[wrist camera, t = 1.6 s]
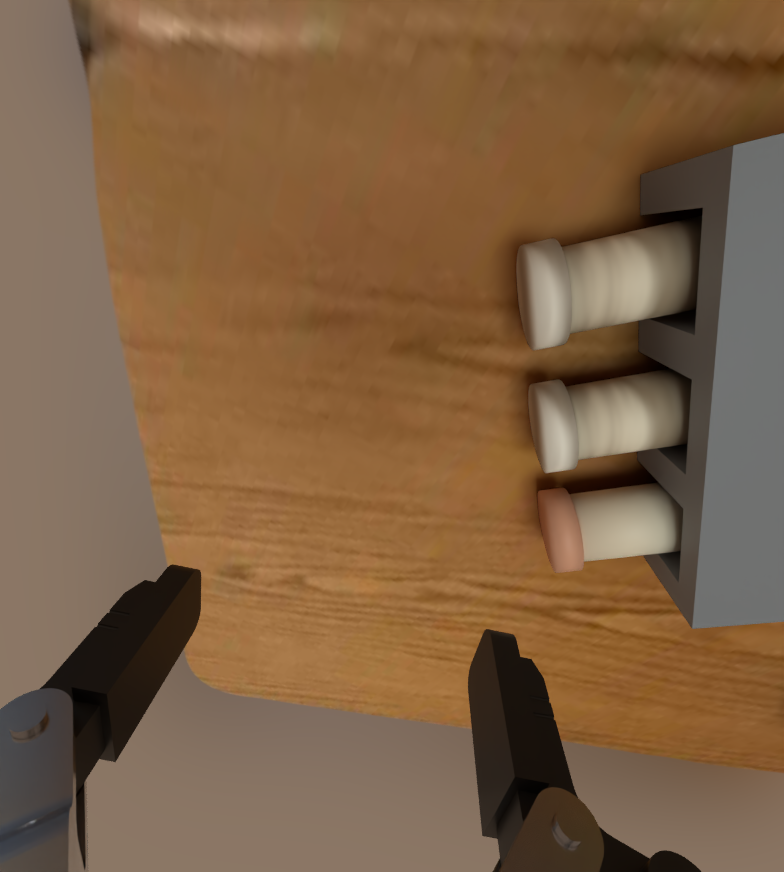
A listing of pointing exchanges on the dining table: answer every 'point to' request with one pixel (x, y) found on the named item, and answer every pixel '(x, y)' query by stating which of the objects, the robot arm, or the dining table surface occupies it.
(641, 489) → the terracotta plug
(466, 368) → the dining table surface
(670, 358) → the socket block
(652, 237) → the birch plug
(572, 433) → the middle birch plug
